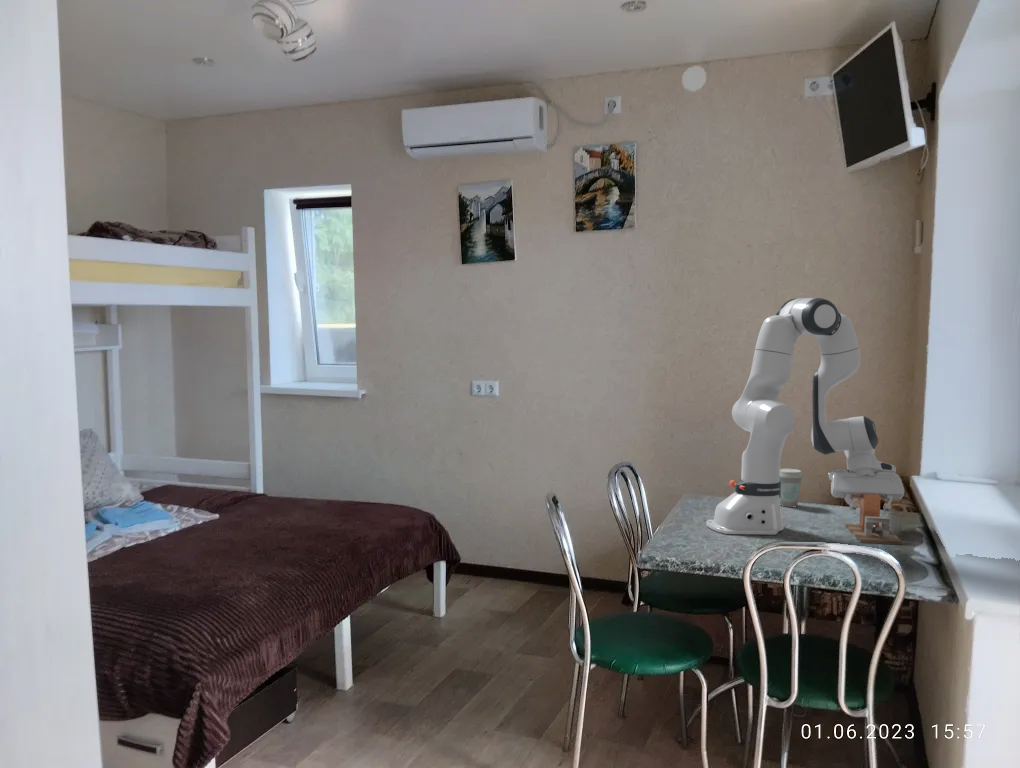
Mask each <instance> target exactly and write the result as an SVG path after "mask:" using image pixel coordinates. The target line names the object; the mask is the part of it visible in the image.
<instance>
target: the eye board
mask: <svg viewBox="0 0 1020 768" xmlns="http://www.w3.org/2000/svg"><path fill="white" fill-rule="evenodd" d="M872 522H876V523H879V527H880V528H881V529H882V532H881V533H877V532H876V531H875V530H872ZM890 523H891V521H890V518H889V517H888V516H887V517H886V516H885V517H884V516H880V517H869V516H865V524H864V529H862V528H861V527H860V526H859V524H860V523H845V525H844V526H845V528H846V529H847V530H848V531H849V532H850V533H851V535H853V537H854V538H856V540H857V541H858V540H859V541H860V542H861V543H862V544H883V545H899V544H900V545H903V541H902V540H901V539H900V538H899V537H898V536H897V535H896V534H895V533H893V532H892V531H891V530H890ZM859 541H858V542H859ZM860 542H859V543H860Z"/></svg>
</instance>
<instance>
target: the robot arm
mask: <svg viewBox="0 0 1020 768" xmlns="http://www.w3.org/2000/svg"><path fill="white" fill-rule="evenodd" d="M856 333H857V332H856V330H855V328H854V325H853V323H852V320H851V318H850V317H849V316H847V315H846V314H843V313H839V310H838V308H837V307H836V305H835V304H834V303H833V302H832V301H830V300H828V299H825V298H821V297H818V298H817V297H815V298H814V297H807V296H805V297H800V298H792V299H789V300H787V301H785V302H784V303H782V304H781V306H780V307H779V308H778V311H777V312H776V314H774V315H771V316H768V317H767V318H765V319H764V320H763V322H762V325H761V327H760V330H759V332H758V336H757V339H756V343H755V347H754V352H753V353H754V354H753V359H752V362H751V368H750V374H749V377H748V379H747V382H746V384H745V386H744V389H743V391H742V394H741V396H740V397H739V398H738V400H736V401H735V403H734V404H733V406H732V409H731V418H732V420H733V422H734V423H735V424H736V425H737V426H738V427H739V428H740V429H742V430H743V431H745V432H749V433H750V435H749V439H748V444H747V446H746V449H744V450H743V452H742V455H741V469H740V470H741V475H740V476H741V477H740V479H739V480H738V481H736V480H734V479H730V481H729V482H728V485H729V486H730V487H731V488H733V489H734V488H735V491H734V492H733V493H731V494H730V495H729V496H728V497H726V498H725V499H723V500H722V501H720V502H719V503H717V505H716V507H715V510H714V517H713V519H707V521H706V523H705V524H706V526H707V527H708V528H710V529H711V530H713V531H715V532H718V533H720V534H725V535H772V536H773V535H774V536H775V535H778V533H779V532H782V531H783V530H784V529H785V528H784V524H783V520H782V513H781V506H780V500H779V499H780V496H781V482H780V469H781V459H782V452H783V449H784V446H785V444H786V443H785V442H786V440H787V438H788V436H789V434H790V433H791V432H792V431H793V430H794V428H795V425H796V415H795V413H794V411H793V410H792V408H790V406H788V405H786V404H785V403H784V402H781V401H779V400H777V399H778V397H779V396H780V393H781V392H782V390H783V388H784V387H785V386H786V385H787V384H788V382H789V380H790V376H791V370H792V364H793V358H794V353H795V346H796V343H797V340H798V338H799V337H800V336H801V335H803V336H814V337H815V338H816V340H817V343H818V346H819V347H818V348H819V353H820V365H819V367H818V369H817V370H815V371H814V373H813V376H812V396H811V397H812V400H811V401H812V427H811V433H810V440H811V444H812V447H813V449H814V450H815V451H817V452H818V453H820V454H823V455H825V456H826V455H829V454H834V453H838V452H843V453H844V455H845V457H846V461H845V462H846V469H832V470H831V471H829V472H828V479H829V481H830V493H831V496H832V497H833V498H836V499H838V498H840V499H844V501H845V502H846V503H847V505H849V509H850V510H851V511H856V510H857V508H858V506H857V502H856V501H853V500H852V499H858V500H859V499H860V500H861V493H875V494H878V495H879V496H881V498H880V500H883V501H884V500H885V503H884V504H883V512H890V511H891V507H892V506H891V503H892V501H902V498H903V497H904V495H905V488H904V484H903V482H902V479H901V476H900V475H899V474H898V473H896V471H897V468H896V466H895V465H894V464H891V463H888V462H884V461H881V460H878V459H877V457H876V455H875V454H876V448H877V446H878V443H879V439H878V436H877V429H876V425H875V422H874V421H873V420H872V419H870V418H868V417H867V416H865V415H862V416H853V417H848V418H842V419H836V420H834V419H833V420H828V419H827V395H828V393H829V391H830V390H832V389H833V388H835V387H836V386H837V385H839V384H841V383H843V382H845V381H846V380H848V379H850V378H851V377H852V376H853V375H855V374H856V373H857V371H858V370H859V368H860V366H861V364H862V362H861V361H862V360H861V359H862V358H861V350H860V344H859V340H858V339H859V338H858V336H857V334H856Z"/></svg>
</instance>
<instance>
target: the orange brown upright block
mask: <svg viewBox="0 0 1020 768" xmlns="http://www.w3.org/2000/svg"><path fill="white" fill-rule="evenodd" d="M880 498H881V496H879V495H878V494H875V493H861V499H860V501H859V502H860V506H859V509H860V510H859V523H858V524H859V526H860V527H861V528H862V529H864V524H865V516H869V517H881V516H880V515H881V499H880ZM879 525H880V523H876V522H872V530H875V531H876V532H877V533H881V532H882V529H881V528H880V527H879Z"/></svg>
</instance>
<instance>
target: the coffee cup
mask: <svg viewBox="0 0 1020 768" xmlns="http://www.w3.org/2000/svg"><path fill="white" fill-rule="evenodd" d="M802 478H803V473H802V471H801V470H800V469H796V468H787V467H785V468H784V467H783V468H780V482H781V496H780V499H779V500H780V504H781V505H783V506H787V507H786V508H794V507H793V506H797V507H798V503H799V496H800V490H801V484H802ZM783 506H782V507H783Z"/></svg>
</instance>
